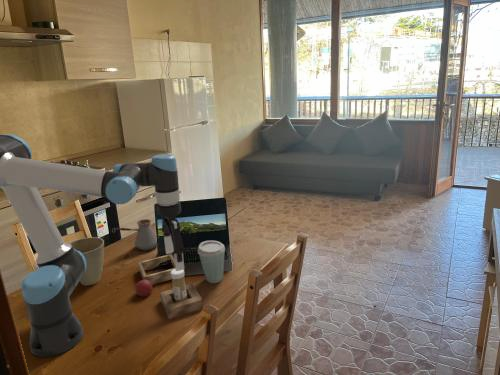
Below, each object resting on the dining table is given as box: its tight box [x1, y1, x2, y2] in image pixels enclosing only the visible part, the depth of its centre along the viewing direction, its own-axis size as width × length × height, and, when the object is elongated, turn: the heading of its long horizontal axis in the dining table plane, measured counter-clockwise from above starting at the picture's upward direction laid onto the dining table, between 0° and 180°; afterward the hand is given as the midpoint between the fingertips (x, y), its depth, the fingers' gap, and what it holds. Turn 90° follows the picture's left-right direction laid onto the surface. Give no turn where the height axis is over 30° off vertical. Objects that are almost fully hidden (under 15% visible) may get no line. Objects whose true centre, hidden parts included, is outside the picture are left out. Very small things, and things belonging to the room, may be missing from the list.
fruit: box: [134, 279, 153, 298], centre depth 143 cm, size 6×6×8 cm
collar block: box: [159, 283, 204, 320], centre depth 136 cm, size 12×12×4 cm
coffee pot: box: [111, 218, 158, 251], centre depth 178 cm, size 21×12×15 cm, turn 137°
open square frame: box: [137, 253, 176, 286], centre depth 158 cm, size 14×14×4 cm
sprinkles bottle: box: [171, 268, 188, 303], centre depth 135 cm, size 5×5×13 cm
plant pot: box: [68, 236, 105, 287], centre depth 154 cm, size 15×15×16 cm
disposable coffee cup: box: [197, 240, 226, 284], centre depth 149 cm, size 11×11×15 cm
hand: (174, 261), depth 132 cm, fingers open, 13 cm apart
